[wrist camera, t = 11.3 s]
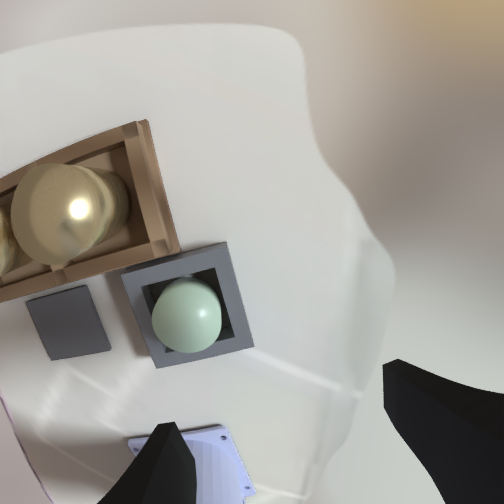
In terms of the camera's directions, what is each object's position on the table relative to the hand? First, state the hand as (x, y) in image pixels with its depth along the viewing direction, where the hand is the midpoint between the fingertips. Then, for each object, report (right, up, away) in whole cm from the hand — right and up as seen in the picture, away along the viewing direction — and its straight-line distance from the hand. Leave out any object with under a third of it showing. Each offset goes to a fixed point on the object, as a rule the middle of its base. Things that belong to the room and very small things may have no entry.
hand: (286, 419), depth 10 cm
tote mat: (-13, +1, +9) cm, 16 cm away
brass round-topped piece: (-10, +8, +7) cm, 14 cm away
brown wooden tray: (-13, +7, +7) cm, 16 cm away
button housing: (-5, +2, +9) cm, 11 cm away
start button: (-5, +2, +8) cm, 10 cm away
